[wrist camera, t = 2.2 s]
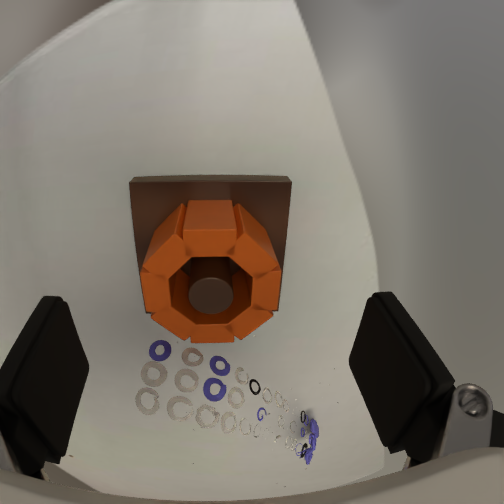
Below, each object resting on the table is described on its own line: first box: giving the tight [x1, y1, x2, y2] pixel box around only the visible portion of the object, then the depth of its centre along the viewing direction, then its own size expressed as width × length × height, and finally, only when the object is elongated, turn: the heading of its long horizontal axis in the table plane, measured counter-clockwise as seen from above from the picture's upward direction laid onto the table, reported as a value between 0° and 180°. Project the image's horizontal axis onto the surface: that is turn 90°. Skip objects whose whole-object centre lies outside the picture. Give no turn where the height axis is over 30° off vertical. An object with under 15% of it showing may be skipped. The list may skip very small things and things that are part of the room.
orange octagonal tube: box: [140, 200, 282, 343], centre depth 17 cm, size 7×7×4 cm
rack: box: [129, 175, 292, 314], centre depth 18 cm, size 9×9×6 cm
